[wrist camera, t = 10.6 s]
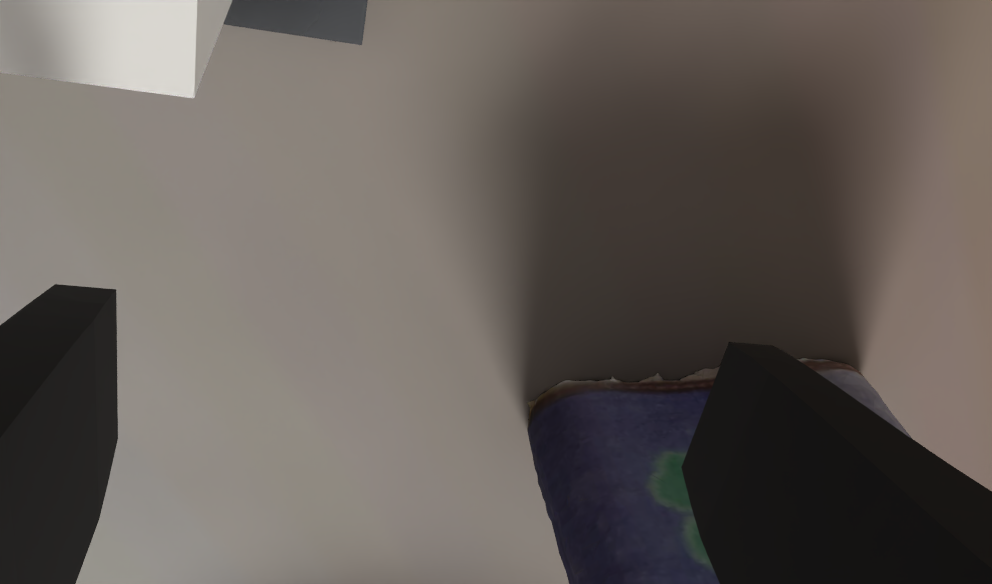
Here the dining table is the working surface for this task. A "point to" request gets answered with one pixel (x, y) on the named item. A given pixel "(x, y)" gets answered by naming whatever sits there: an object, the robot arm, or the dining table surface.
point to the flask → (635, 472)
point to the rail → (112, 42)
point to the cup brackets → (302, 17)
